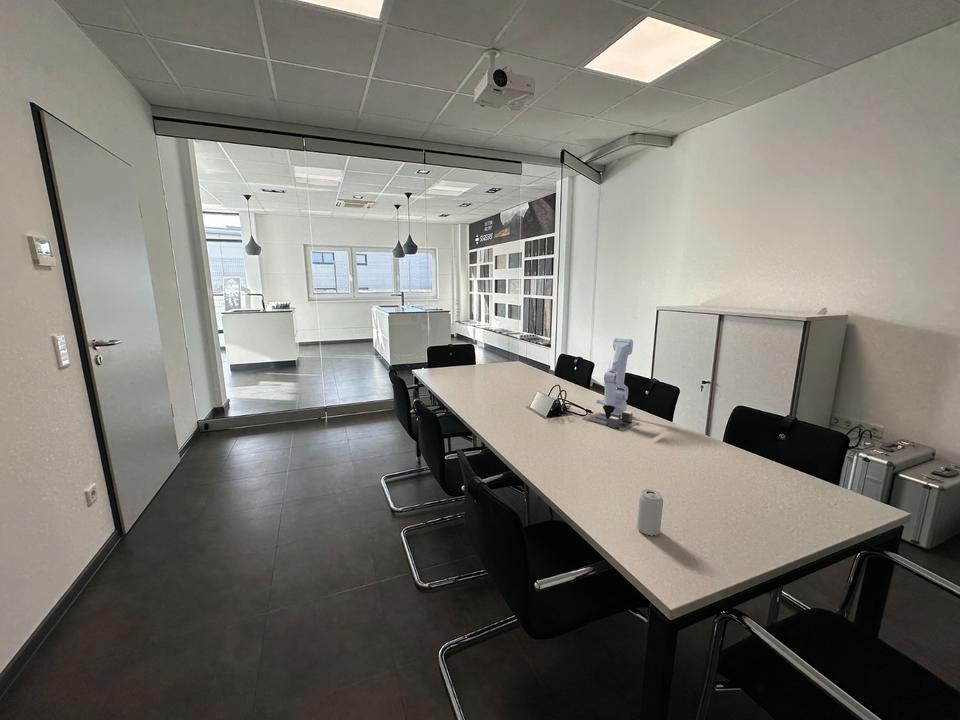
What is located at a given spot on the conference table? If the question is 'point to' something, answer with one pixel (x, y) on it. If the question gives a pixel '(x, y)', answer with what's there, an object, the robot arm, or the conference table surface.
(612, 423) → the block
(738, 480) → the conference table surface
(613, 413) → the breaker
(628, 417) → the breaker
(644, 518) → the beverage can
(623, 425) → the panel
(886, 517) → the conference table surface
